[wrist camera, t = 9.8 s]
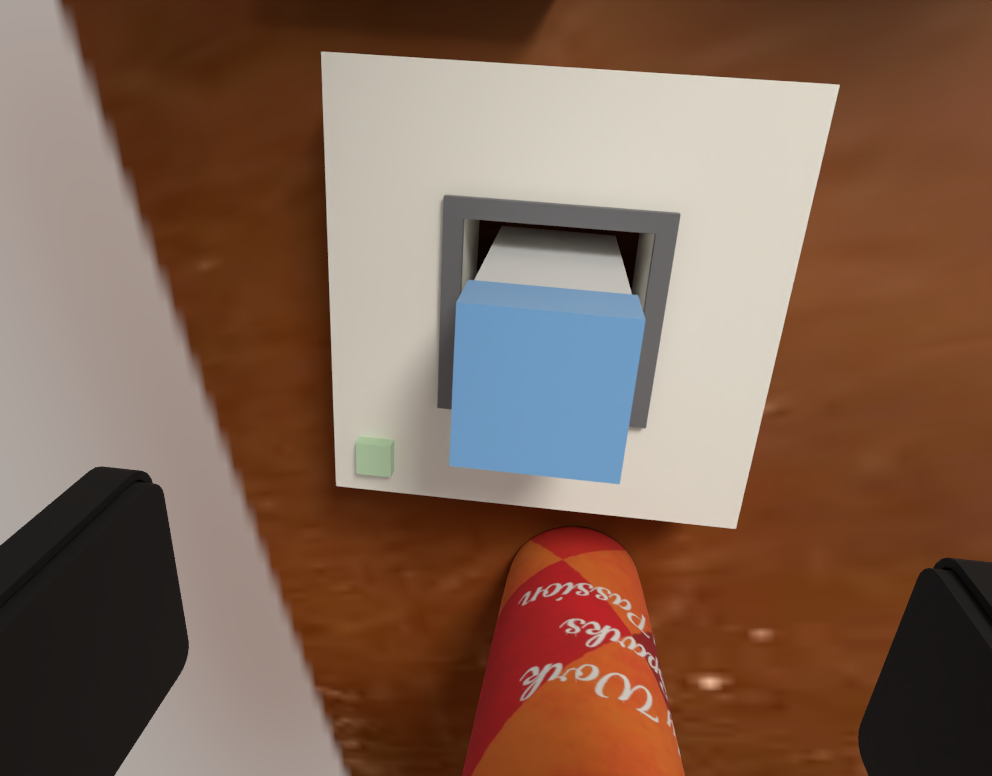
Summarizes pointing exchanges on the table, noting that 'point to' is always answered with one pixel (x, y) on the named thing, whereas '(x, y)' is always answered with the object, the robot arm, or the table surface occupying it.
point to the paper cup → (573, 668)
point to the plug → (546, 357)
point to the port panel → (569, 203)
